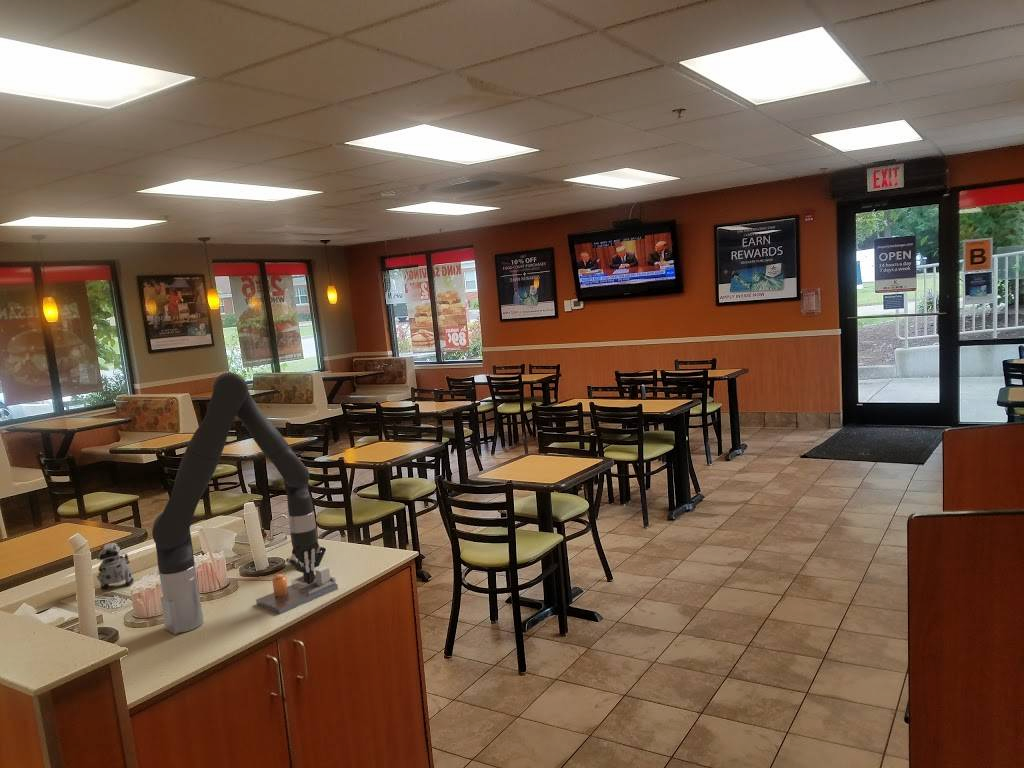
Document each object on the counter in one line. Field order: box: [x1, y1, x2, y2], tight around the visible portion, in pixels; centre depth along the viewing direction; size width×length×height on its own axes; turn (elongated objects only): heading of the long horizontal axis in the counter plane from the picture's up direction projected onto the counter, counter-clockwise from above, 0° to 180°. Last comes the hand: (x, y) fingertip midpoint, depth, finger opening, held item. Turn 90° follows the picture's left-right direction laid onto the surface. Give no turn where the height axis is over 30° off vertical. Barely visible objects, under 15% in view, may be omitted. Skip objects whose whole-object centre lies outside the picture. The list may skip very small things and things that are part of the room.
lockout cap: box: [271, 573, 288, 597], centre depth 218 cm, size 4×4×6 cm
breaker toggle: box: [314, 566, 331, 586], centre depth 222 cm, size 3×3×5 cm
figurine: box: [96, 542, 135, 591], centre depth 239 cm, size 9×12×15 cm
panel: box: [255, 573, 339, 615], centre depth 218 cm, size 20×13×3 cm, turn 138°
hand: (309, 582), depth 218 cm, fingers closed
